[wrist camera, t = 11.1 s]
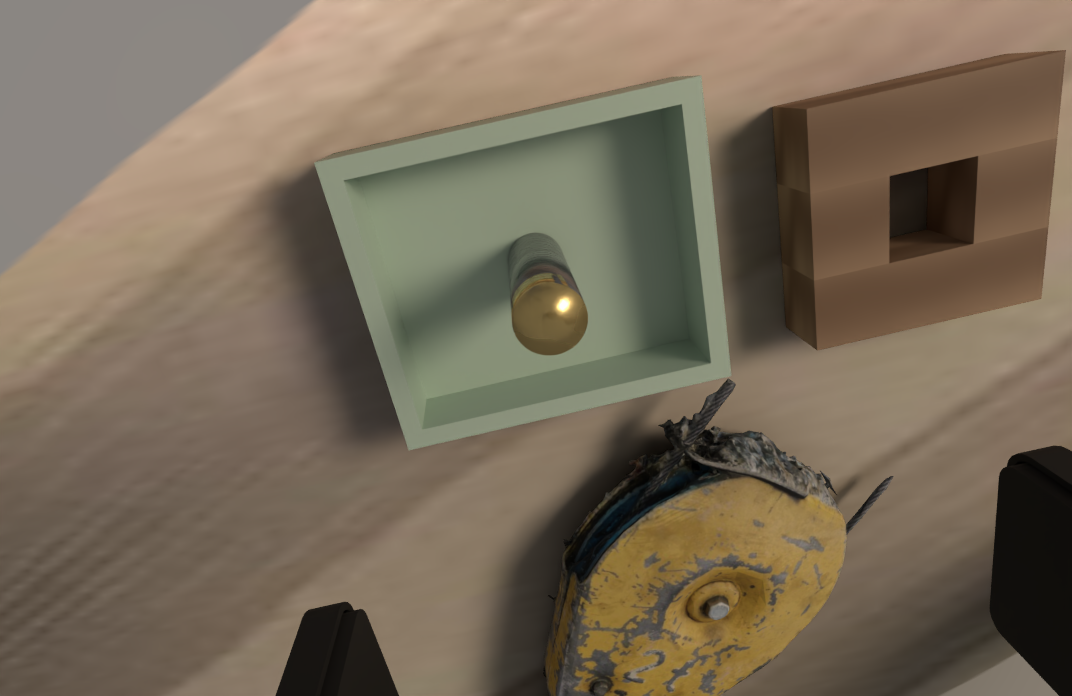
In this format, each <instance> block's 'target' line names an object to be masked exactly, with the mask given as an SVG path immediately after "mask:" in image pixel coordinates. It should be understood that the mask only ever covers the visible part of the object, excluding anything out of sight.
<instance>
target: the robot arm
mask: <svg viewBox="0 0 1072 696" xmlns="http://www.w3.org/2000/svg"><path fill="white" fill-rule="evenodd" d="M990 614H991V617H992V620H993V622H994V624H995V626H996V628H997V630H998V631H999V632H1000V634H1001V635H1002V636H1003V637H1004V638H1005V639H1006V640H1007V642H1008V643H1009V644H1010V645H1011V646H1012V647H1013V648H1014V649H1015V650H1016V651H1017V652H1018V653H1019V654H1020V655H1021V656H1022V657H1023V658H1024V659H1025V660H1026V661H1027V662H1028V664H1029V665H1031V667H1032V668H1033V669H1034V670H1035V671H1036V672H1037V673H1038V674H1039V675H1040V676H1041V677H1042V678H1043V679H1044V680H1045V681H1046V682H1047V683H1048V684H1049V685H1050V686H1051V688H1052V689H1053V690H1054V691H1055V692H1056V693H1057V694H1058V695H1059V696H1072V451H1070V450H1068V449H1066V448H1064V447H1062V446H1050V447H1046V448H1041V449H1037V450H1032V451H1027V452H1023V453H1018V454H1015V455H1013V456H1012V457H1011V458H1010V459H1009V460H1008V464H1007V467H1005V468H1003V469H1002V470H1001V472H1000V475H999V485H998V499H997V513H996V527H995V541H994V554H993V568H992V582H991V596H990ZM276 696H399V695H398V692H397V690H396V687H395V685H394V682H393V680H392V677H391V674H390V672H389V669H388V667H387V664H386V662H385V659H384V657H383V654H382V652H381V649H380V647H379V644H378V642H377V639H376V637H375V634H374V632H373V629H372V627H371V624H370V622H369V619H368V617H367V615H366V613H365V611H364V610H363V609H359V610H353V608H352V606H351V605H350V604H349V603H348V602H342V603H337V604H333V605H328V606H324V607H319V608H315V609H310V610H308V611H307V612H305V614H304V616H303V618H302V621H301V624H300V627H299V629H298V632H297V635H296V638H295V641H294V644H293V647H292V650H291V653H290V656H289V658H288V661H287V664H286V667H285V670H284V673H283V676H282V679H281V682H280V685H279V687H278V690H277V693H276Z"/></svg>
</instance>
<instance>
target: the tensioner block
mask: <svg viewBox="0 0 1072 696" xmlns="http://www.w3.org/2000/svg"><path fill="white" fill-rule="evenodd" d="M1065 53H1066V50H1062V51H1046V52H1031V53H1015V54H1003V55H999V56H994V57H990V58H986V59H981V60H977V61H972V62H968V63H964V64H959V65H955V66H950V67H946V68H942V69H937V70H933V71H928V72H924V73H919V74H915V75H911V76H906V77H902V78H897V79H893V80H889V81H884V82H880V83H875V84H871V85H866V86H862V87H858V88H853V89H849V90H844V91H840V92H836V93H831V94H827V95H822V96H818V97H813V98H809V99H805V100H800V101H796V102H791V103H787V104H783V105H778V106H774V107H772V111H773V127H774V143H775V159H776V175H777V191H778V207H779V223H780V239H781V255H782V271H783V287H784V303H785V319H786V327H787V328H788V329H789V330H791V331H792V332H793V333H795V334H796V335H797V336H799V337H800V338H801V339H803V340H804V341H805V342H807V343H808V344H809V345H811V346H812V347H813V348H815V349H816V350H821V349H825V348H830V347H834V346H839V345H843V344H847V343H852V342H856V341H860V340H865V339H869V338H873V337H878V336H882V335H886V334H891V333H895V332H899V331H904V330H908V329H912V328H917V327H921V326H925V325H930V324H934V323H938V322H943V321H947V320H951V319H956V318H960V317H964V316H969V315H973V314H977V313H982V312H986V311H990V310H995V309H999V308H1003V307H1008V306H1012V305H1016V304H1021V303H1025V302H1029V301H1034V300H1038V299H1041V296H1042V286H1043V276H1044V266H1045V256H1046V246H1047V235H1048V225H1049V215H1050V205H1051V195H1052V185H1053V175H1054V165H1055V154H1056V144H1057V134H1058V124H1059V114H1060V104H1061V94H1062V84H1063V74H1064V63H1065ZM927 167H928V194H927V229H926V230H922V231H918V232H913V233H909V234H905V235H900V236H896V237H892V238H889V202H890V176H892V175H896V174H901V173H905V172H909V171H914V170H918V169H923V168H927Z"/></svg>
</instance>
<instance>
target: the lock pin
mask: <svg viewBox="0 0 1072 696" xmlns="http://www.w3.org/2000/svg"><path fill="white" fill-rule="evenodd" d="M508 275H509V289H510V303H511V317H512V327H513V331H514V333H515V336H516V337H517V339H518V341H519V342H520V343H521V344H522V345H523V346H524V347H525V348H527V349H528V350H530V351H532V352H534V353H537V354H540V355H558V354H562V353H564V352H566V351H568V350H570V349H572V348H573V347H574V346H575V345H577V344H578V343H579V341H580V340H581V339H582V337H583V336H584V334H585V331H586V328H587V324H588V312H587V308H586V305H585V303H584V300H583V298H582V296H581V294H580V291H579V289H578V287H577V284H576V282H575V280H574V277H573V275H572V273H571V270H570V268H569V266H568V263H567V261H566V259H565V256H564V254H563V252H562V250H561V247H560V246H559V244H558V243H557V242H556V241H555V240H554V239H553V238H552V237H550V236H548V235H546V234H543V233H529V234H526V235H523V236H522V237H520V238H519V239H517V240H516V241H515V242H514V244H513V245H512V246H511V248H510V251H509V254H508Z"/></svg>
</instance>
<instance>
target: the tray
mask: <svg viewBox="0 0 1072 696" xmlns="http://www.w3.org/2000/svg"><path fill="white" fill-rule="evenodd" d="M314 164H315V167H316V170H317V173H318V176H319V179H320V182H321V185H322V188H323V191H324V194H325V197H326V200H327V203H328V206H329V210H330V213H331V216H332V219H333V222H334V225H335V228H336V231H337V234H338V237H339V240H340V243H341V246H342V249H343V252H344V255H345V258H346V261H347V264H348V267H349V270H350V273H351V276H352V279H353V282H354V285H355V288H356V292H357V295H358V298H359V301H360V304H361V307H362V310H363V313H364V316H365V319H366V322H367V325H368V328H369V331H370V334H371V337H372V340H373V343H374V346H375V349H376V352H377V355H378V358H379V361H380V364H381V367H382V370H383V374H384V377H385V380H386V383H387V386H388V389H389V392H390V395H391V398H392V401H393V404H394V407H395V410H396V413H397V416H398V419H399V422H400V425H401V428H402V431H403V434H404V437H405V440H406V443H407V446H408V449H409V450H412V449H417V448H421V447H425V446H430V445H434V444H438V443H443V442H447V441H451V440H456V439H460V438H464V437H469V436H473V435H477V434H482V433H486V432H490V431H495V430H499V429H503V428H508V427H512V426H516V425H521V424H525V423H529V422H534V421H538V420H542V419H547V418H551V417H555V416H560V415H564V414H568V413H573V412H577V411H581V410H586V409H590V408H595V407H599V406H603V405H608V404H612V403H616V402H621V401H625V400H629V399H634V398H638V397H642V396H647V395H651V394H655V393H660V392H664V391H668V390H673V389H677V388H681V387H686V386H690V385H694V384H699V383H703V382H707V381H712V380H716V379H720V378H725V377H729V376H731V367H730V357H729V347H728V337H727V327H726V317H725V307H724V297H723V287H722V277H721V267H720V257H719V247H718V237H717V227H716V217H715V208H714V198H713V188H712V178H711V168H710V158H709V148H708V138H707V128H706V118H705V108H704V98H703V88H702V78H701V75H699V76H681V77H670V78H666V79H661V80H657V81H652V82H648V83H644V84H639V85H635V86H630V87H626V88H621V89H617V90H613V91H608V92H604V93H599V94H595V95H590V96H586V97H582V98H577V99H573V100H568V101H564V102H559V103H555V104H551V105H546V106H542V107H537V108H533V109H528V110H524V111H520V112H515V113H511V114H506V115H502V116H497V117H493V118H489V119H484V120H480V121H475V122H471V123H466V124H462V125H458V126H453V127H449V128H444V129H440V130H435V131H431V132H427V133H422V134H418V135H413V136H409V137H404V138H400V139H395V140H391V141H387V142H382V143H378V144H373V145H369V146H364V147H360V148H356V149H351V150H347V151H342V152H338V153H333V154H331V155H329V156H327V157H325V158H323V159H321V160H319V161H317V162H315V163H314ZM529 233H543V234H546V235H548V236H550V237H552V238H553V239H554V240H555V241H556V242H557V243H558V244H559V246H560V247H561V250H562V252H563V254H564V256H565V259H566V261H567V263H568V266H569V268H570V270H571V273H572V275H573V277H574V280H575V282H576V284H577V287H578V289H579V291H580V294H581V296H582V298H583V300H584V303H585V305H586V308H587V312H588V324H587V328H586V331H585V334H584V336H583V337H582V339H581V340H580V341H579V343H578V344H577V345H575V346H574V347H573V348H572V349H570V350H568V351H566V352H564V353H562V354H558V355H540V354H537V353H534V352H532V351H530V350H528V349H527V348H525V347H524V346H523V345H522V344H521V343H520V342H519V341H518V339H517V337H516V336H515V333H514V331H513V327H512V317H511V303H510V289H509V275H508V254H509V251H510V248H511V246H512V245H513V244H514V242H515V241H516V240H517V239H519V238H520V237H522V236H523V235H526V234H529Z"/></svg>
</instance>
